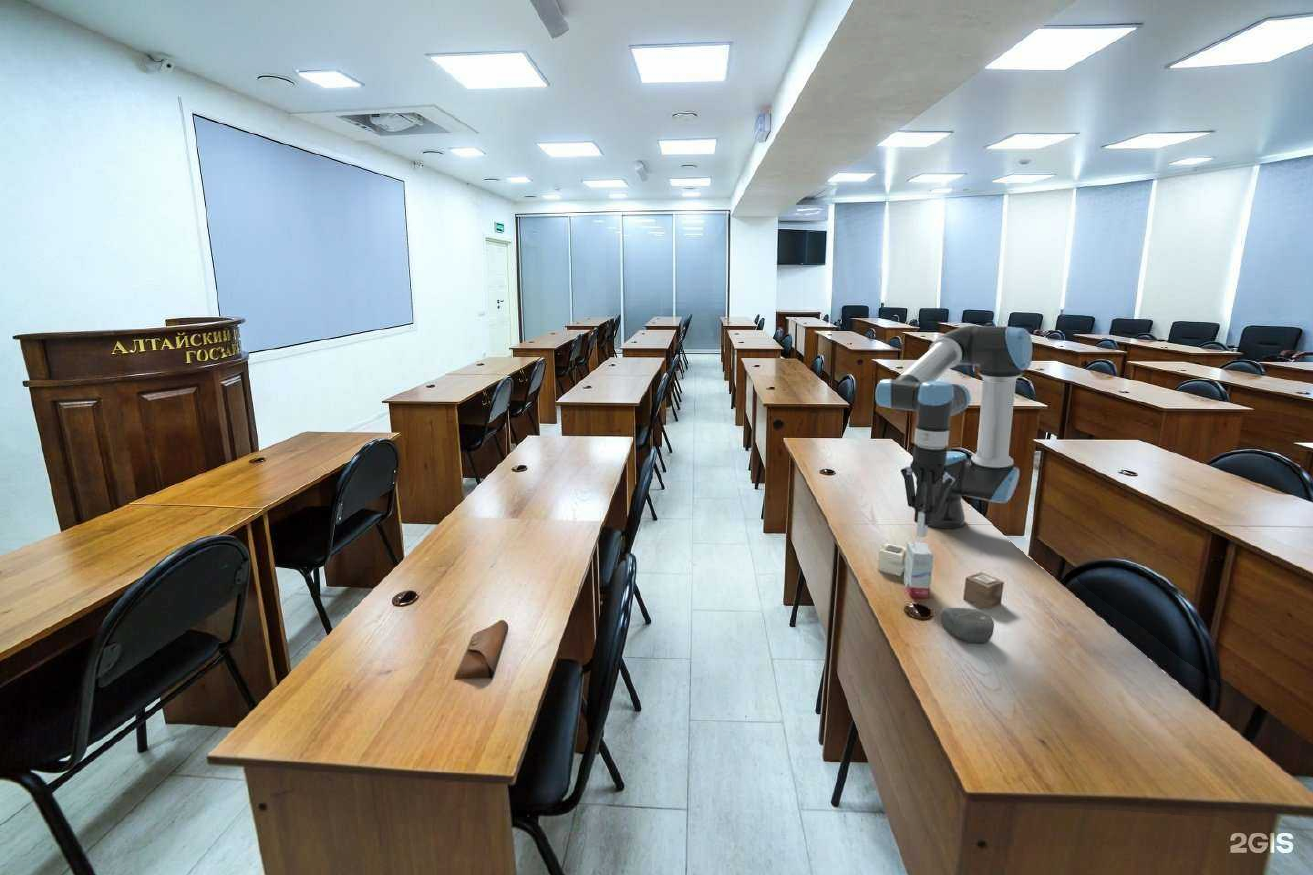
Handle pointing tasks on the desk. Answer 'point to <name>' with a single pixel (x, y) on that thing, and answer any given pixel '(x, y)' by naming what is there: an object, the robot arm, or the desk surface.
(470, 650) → the sunglasses case
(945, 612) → the stone
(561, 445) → the desk surface
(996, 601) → the walnut block marked
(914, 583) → the ink box
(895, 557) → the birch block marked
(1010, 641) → the desk surface
